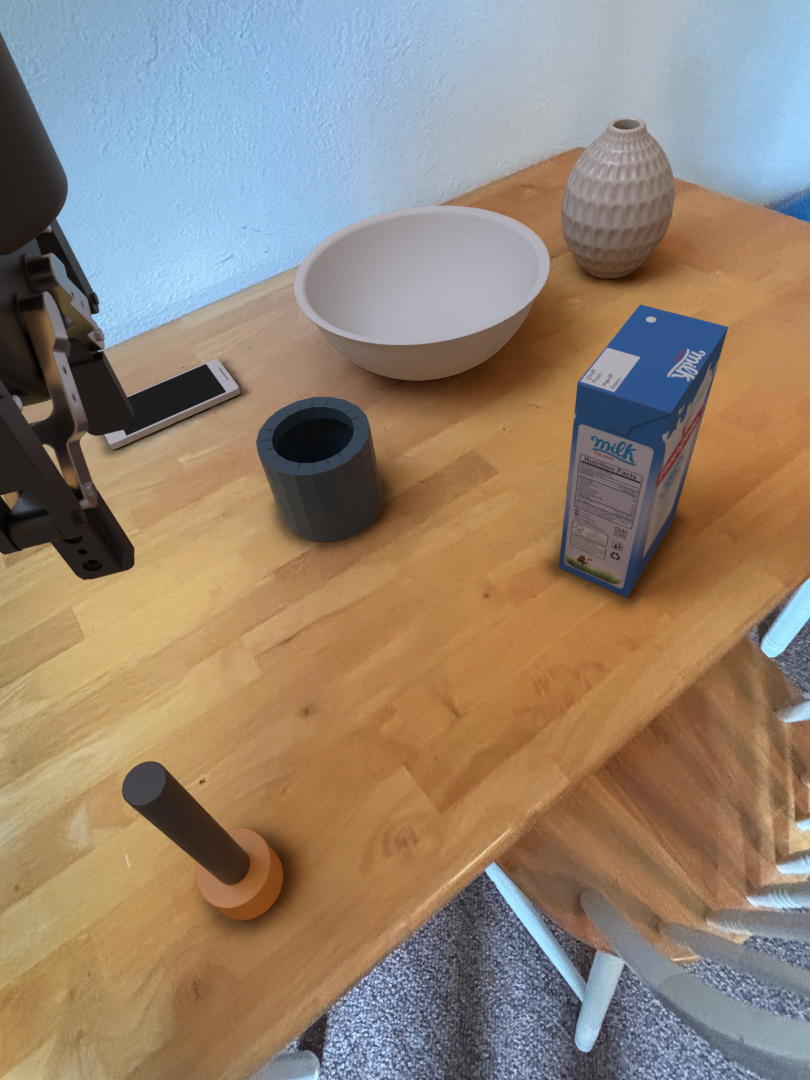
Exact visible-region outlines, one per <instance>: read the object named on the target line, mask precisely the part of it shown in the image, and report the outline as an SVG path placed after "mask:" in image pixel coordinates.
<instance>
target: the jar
mask: <svg viewBox="0 0 810 1080" xmlns="http://www.w3.org/2000/svg"><path fill="white" fill-rule="evenodd" d="M255 444H256V445H255V446H256V451H257V455H258V458H259V460H260V463H261V466H262V469H263V471H264V474H265V477H266V480H267V482H268V485H269V488H270V490H271V494H272V497H273V499H274V501H275V504H276V507H277V509H278V513H279V515H280V517H281V518H282V521H283V523H284V525H285V526H286V528H287V529H288V530H289V531H290V532H292V534H294V535H296V536H297V537H299V538H301V539H303V540H306V541H309V542H315V543H332V542H338V541H343V540H346V539H348V538H351V537H353V536H355V535H357V534H359V533H361V532H362V531H364V530H365V529H366V528H367V527H369V526H370V525H371V524H372V523H373V522H374V521H375V519H376V518H377V516H378V515H379V513H380V511H381V508H382V505H383V497H384V496H383V487H382V482H381V481H382V480H381V475H380V471H379V466H378V461H377V460H378V459H377V455H376V451H375V450H376V449H375V445H374V439H373V434H372V429H371V424H370V421H369V419H368V416H367V414H366V413H365V412H364V411H363V410H362V409H361V408H360V406H359V405H358V404H356V403H353V402H351V401H349V400H347V399H344V398H340V397H335V396H312V397H311V396H310V397H307V398H303V399H299V400H296V401H293V402H291V403H289V404H287V405H285V406H283V407H281V408H279V409H278V410H276V412H274V413H273V414H271V415H270V416H269V417H268V418H267V419H266V420H265V421H264V423H263V424H262V425H261V427H260V428H259V430H258V433H257V436H256V441H255Z"/></svg>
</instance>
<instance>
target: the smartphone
mask: <svg viewBox="0 0 810 1080" xmlns="http://www.w3.org/2000/svg"><path fill="white" fill-rule="evenodd" d="M240 394H241V389H240V386H239V384H237V382H236V380H235V379H234V378H233V377H232V375H231V374H230V373H229V372H228V370H227V369H226V367H225V366H224V365H223V363H222V362H221V360H219V359H218V358H214V359H211V360H209V361H207V362H204V363H202V364H200V365H198V366H195V367H193V368H190V369H187V370H186V371H183V372H181V373H179V374H176V375H174V376H171V377H169V378H167V379H165V380H162V381H160V382H157V383H155V384H153V385H150V386H147V387H145V388H143V389H141V390H139V391H136V392H134V393H132V394H129V395H126V396H127V398H128V400H129V402H130V404H131V405H132V407H133V409H134V424H133V426H132V427H130V428H129V429H125V430H121V431H117V432H113V433H108V434H104V435H103V436H104V437H105V439H106V441H107V443H108V445H109V447H110V448H111V450H116V449H119V448H121V447H124V446H126V445H128V444H130V443H133V442H134V441H137V440H140V439H141V438H143V437H146V436H148V435H151V434H153V433H155V432H157V431H160V430H162V429H164V428H167V427H169V426H171V425H173V424H176V423H177V422H180V421H182V420H184V419H187V418H189V417H191V416H193V415H196V414H198V413H201V412H202V411H205V410H207V409H209V408H212V407H214V406H216V405H218V404H221V403H223V402H226V401H227V400H229V399H232V398H234V397H237V396H238V395H240Z"/></svg>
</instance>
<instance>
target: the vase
mask: <svg viewBox="0 0 810 1080" xmlns="http://www.w3.org/2000/svg"><path fill="white" fill-rule="evenodd" d="M675 194H676V187H675V179H674V174H673V170H672V166H671V163H670V160H669V158H668V155H667V154H666V152H665V151H664V149H663V147H662V146H661V144H660V143H659V142H658V140H657V139H656V138H655V137H654V136H653V135H652V134H651V133H650V131H648V129H647V124H646V122H645V121H644V120H643V119H641V118H638V117H632V116H631V117H630V116H626V117H625V116H623V117H619V118H615V119H613V120H611V121H610V122H609V123H608V124H607V126H606V128H605V131H604V132H602V134H600V135H599V136H598V137H597V138H595V139H594V140H593V141H592V142H591V143H590V144H589V145H588V146H587V147H586V148H585V149H584V151H583V152H582V153H581V154H580V155H579V157H578V158H577V160H576V162H575V164H574V165H573V167H572V169H571V171H570V172H569V175H568V177H567V180H566V184H565V186H564V189H563V194H562V198H561V207H560V208H561V209H560V223H561V224H560V226H561V230H562V235H563V239H564V242H565V244H566V247H567V248H568V252H570V254H571V256H572V258H573V259H574V261H575V262H576V263H577V264H578V265H579V266H580V267H581V268H582V269H583V270H584V271H585V272H586V273H587V274H588V275H590V276H593V277H596V278H597V279H602V280H603V279H605V280H614V279H620V278H623V277H626V276H629V274H631V273H633V272H634V271H636V270H637V269H638V268H640V267H641V266H642V265H644V263H646V261H647V260H648V259H649V258H650V257H651V256H652V255H653V254H654V253H655V251H657V248H659V246H660V244H661V243H662V242H663V240H664V238H665V235H666V234H667V231H668V229H669V226H670V223H671V220H672V218H673V217H672V216H673V211H674V204H675V198H676V197H675V196H676V195H675Z"/></svg>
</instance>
